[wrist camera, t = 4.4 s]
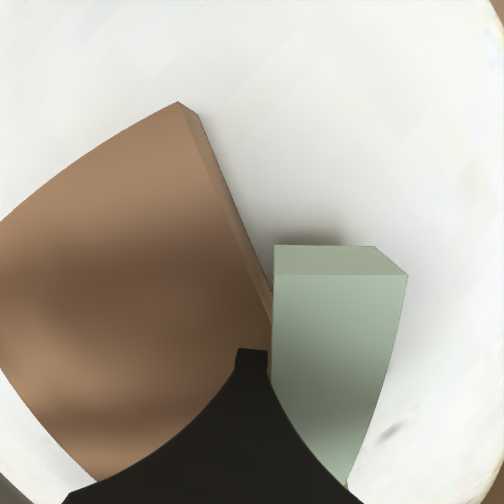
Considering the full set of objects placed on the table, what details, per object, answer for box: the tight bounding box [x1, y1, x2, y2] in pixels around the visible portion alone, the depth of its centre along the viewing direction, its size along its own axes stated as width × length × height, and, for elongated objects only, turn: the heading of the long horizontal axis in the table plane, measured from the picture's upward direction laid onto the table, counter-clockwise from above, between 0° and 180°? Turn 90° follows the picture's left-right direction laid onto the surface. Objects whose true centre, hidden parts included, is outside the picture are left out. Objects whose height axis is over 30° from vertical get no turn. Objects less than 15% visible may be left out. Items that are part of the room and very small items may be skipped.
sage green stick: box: [270, 245, 408, 486], centre depth 10 cm, size 16×3×2 cm, turn 0°
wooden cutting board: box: [0, 101, 348, 490], centre depth 13 cm, size 22×16×2 cm
